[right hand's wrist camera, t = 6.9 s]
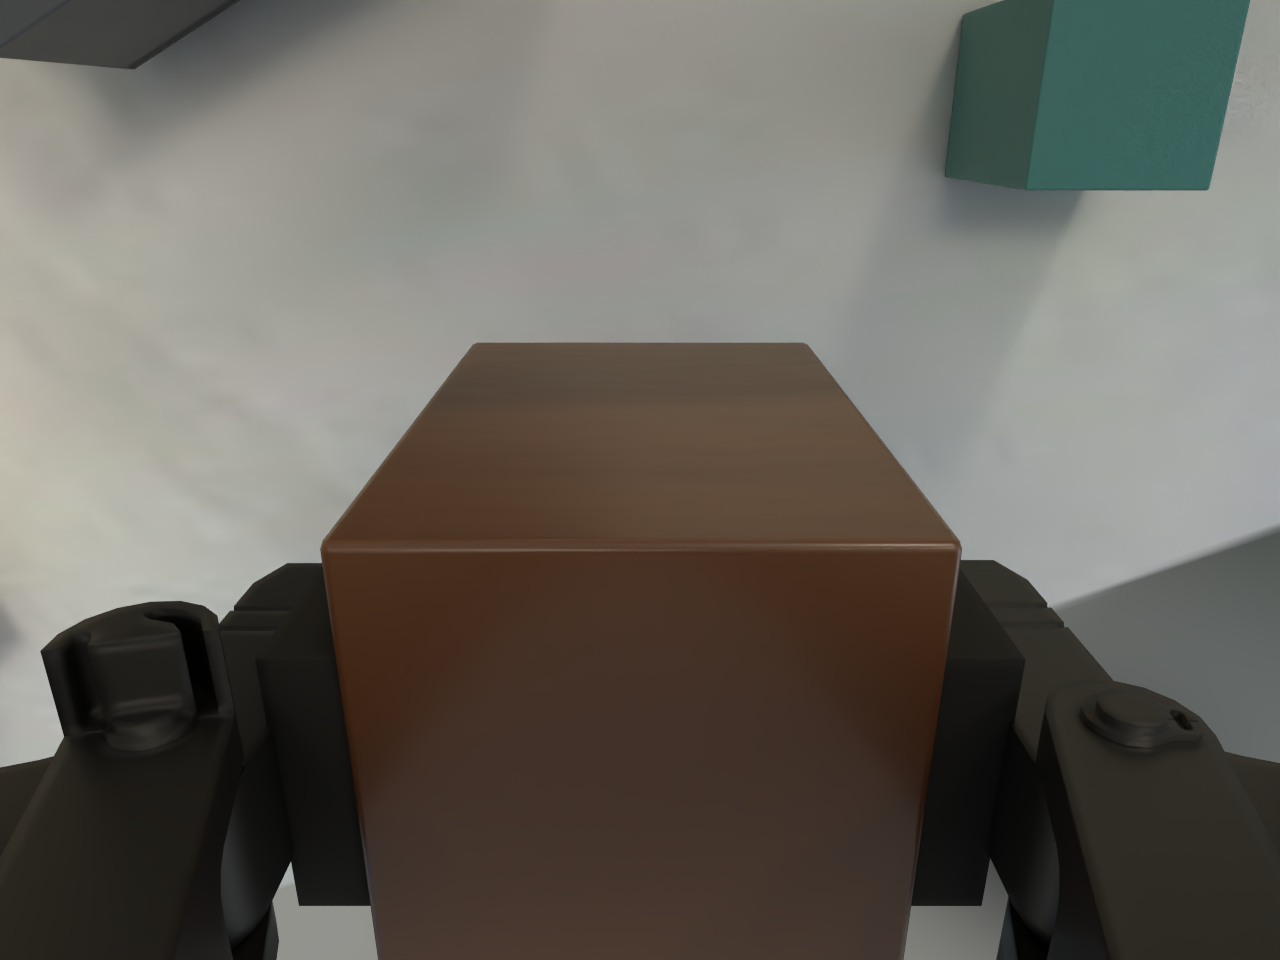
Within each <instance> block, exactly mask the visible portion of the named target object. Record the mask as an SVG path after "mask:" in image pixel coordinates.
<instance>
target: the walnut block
mask: <svg viewBox="0 0 1280 960" xmlns="http://www.w3.org/2000/svg"><path fill="white" fill-rule="evenodd" d="M320 550H321V558H322V565H323V572H324V579H325V586H326V593H327V600H328V607H329V614H330V621H331V628H332V636H333V643H334V650H335V657H336V664H337V671H338V678H339V685H340V692H341V699H342V706H343V714H344V721H345V728H346V735H347V742H348V749H349V756H350V763H351V770H352V777H353V784H354V792H355V799H356V806H357V813H358V820H359V827H360V834H361V841H362V848H363V855H364V862H365V869H366V877H367V884H368V891H369V898H370V905H371V912H372V919H373V926H374V933H375V940H376V947H377V955H378V960H903V959H904V952H905V945H906V937H907V931H908V924H909V917H910V910H911V903H912V896H913V889H914V882H915V875H916V868H917V861H918V854H919V847H920V840H921V833H922V826H923V819H924V812H925V805H926V798H927V791H928V784H929V777H930V770H931V763H932V756H933V749H934V742H935V735H936V728H937V721H938V714H939V707H940V700H941V693H942V686H943V679H944V672H945V665H946V658H947V651H948V644H949V637H950V630H951V623H952V616H953V609H954V602H955V595H956V588H957V581H958V574H959V567H960V560H961V553H962V547H961V544H960V541H959V539H958V538H957V537H956V536H955V534H954V533H953V532H952V530H951V529H950V528H949V526H948V525H947V524H946V523H945V521H944V520H943V519H942V517H941V516H940V515H939V514H938V512H937V511H936V510H935V508H934V507H933V506H932V505H931V503H930V502H929V501H928V499H927V498H926V497H925V496H924V494H923V493H922V492H921V490H920V489H919V488H918V486H917V485H916V484H915V483H914V481H913V480H912V479H911V477H910V476H909V475H908V474H907V472H906V471H905V470H904V468H903V467H902V466H901V465H900V463H899V462H898V461H897V459H896V458H895V457H894V456H893V454H892V453H891V452H890V450H889V449H888V448H887V446H886V445H885V444H884V443H883V441H882V440H881V439H880V437H879V436H878V435H877V434H876V432H875V431H874V430H873V428H872V427H871V426H870V425H869V423H868V422H867V421H866V419H865V418H864V417H863V415H862V414H861V413H860V412H859V410H858V409H857V408H856V406H855V405H854V404H853V403H852V401H851V400H850V399H849V397H848V396H847V395H846V394H845V392H844V391H843V390H842V388H841V387H840V386H839V385H838V383H837V382H836V381H835V379H834V378H833V377H832V375H831V374H830V373H829V372H828V370H827V369H826V368H825V366H824V365H823V364H822V363H821V361H820V360H819V359H818V357H817V356H816V355H815V354H814V352H813V351H812V350H811V348H810V347H809V346H808V345H807V344H805V343H476V344H473V345H472V346H471V348H470V349H469V350H468V352H467V353H466V354H465V356H464V357H463V358H462V359H461V361H460V362H459V363H458V365H457V366H456V367H455V369H454V370H453V371H452V373H451V374H450V375H449V376H448V378H447V379H446V380H445V382H444V383H443V384H442V386H441V387H440V388H439V390H438V391H437V392H436V393H435V395H434V396H433V397H432V399H431V400H430V401H429V403H428V404H427V405H426V407H425V408H424V409H423V410H422V412H421V413H420V414H419V416H418V417H417V418H416V420H415V421H414V422H413V424H412V425H411V426H410V427H409V429H408V430H407V431H406V433H405V434H404V435H403V437H402V438H401V439H400V441H399V442H398V443H397V444H396V446H395V447H394V448H393V450H392V451H391V452H390V454H389V455H388V456H387V458H386V459H385V460H384V461H383V463H382V464H381V465H380V467H379V468H378V469H377V471H376V472H375V473H374V475H373V476H372V477H371V478H370V480H369V481H368V482H367V484H366V485H365V486H364V488H363V489H362V490H361V492H360V493H359V494H358V495H357V497H356V498H355V499H354V501H353V502H352V503H351V505H350V506H349V507H348V509H347V510H346V511H345V512H344V514H343V515H342V516H341V518H340V519H339V520H338V522H337V523H336V524H335V526H334V527H333V528H332V529H331V531H330V532H329V533H328V535H327V536H326V537H325V539H324V540H323V542H322V545H321V548H320Z"/></svg>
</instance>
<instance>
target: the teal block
mask: <svg viewBox="0 0 1280 960" xmlns="http://www.w3.org/2000/svg"><path fill="white" fill-rule="evenodd" d="M1249 3H1250V0H1003V1H1000V2H998V3H995V4H992V5H989V6H986V7H983V8H980V9H977V10H975V11H972V12H969V13H966V14H964V16H963V23H962V32H961V41H960V49H959V58H958V67H957V75H956V84H955V92H954V101H953V110H952V118H951V127H950V136H949V144H948V153H947V162H946V170H945V177H948V178H954V179H961V180H967V181H973V182H979V183H985V184H991V185H997V186H1003V187H1009V188H1015V189H1022V190H1208V189H1209V187H1210V182H1211V178H1212V173H1213V169H1214V164H1215V159H1216V155H1217V150H1218V146H1219V141H1220V136H1221V132H1222V127H1223V123H1224V118H1225V113H1226V109H1227V104H1228V100H1229V95H1230V90H1231V86H1232V81H1233V77H1234V72H1235V67H1236V63H1237V58H1238V54H1239V49H1240V44H1241V40H1242V35H1243V31H1244V26H1245V21H1246V17H1247V12H1248V8H1249Z"/></svg>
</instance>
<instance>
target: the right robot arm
mask: <svg viewBox="0 0 1280 960" xmlns="http://www.w3.org/2000/svg"><path fill="white" fill-rule="evenodd" d="M41 655H42V658H43V662H44V666H45V669H46V673H47V676H48V680H49V684H50V687H51V691H52V694H53V698H54V701H55V705H56V709H57V712H58V716H59V719H60V723H61V727H62V730H63V734H64V738H63V740H62V742H61V744H60V746H59V748H58V750H57V752H56V753H55V755H54V756H53V757H49V758H45V759H41V760H37V761H32V762H27V763H21V764H16V765H11V766H6V767H1V768H0V960H276V958H277V951H278V943H279V938H278V931H277V923H276V917H275V913H274V907H273V902H272V900H273V898H274V896H275V893H276V891H277V889H278V887H279V885H280V883H281V881H282V879H283V877H284V874H285V872H286V870H287V868H288V866H289V864H290V862H291V863H292V869H293V874H294V880H295V885H296V891H297V896H298V902H299V906H371V905H370V898H369V891H368V884H367V877H366V869H365V862H364V855H363V848H362V841H361V834H360V827H359V820H358V813H357V806H356V799H355V792H354V784H353V777H352V770H351V763H350V756H349V749H348V742H347V735H346V728H345V721H344V714H343V706H342V699H341V692H340V685H339V678H338V671H337V664H336V657H335V650H334V643H333V636H332V628H331V621H330V614H329V607H328V600H327V593H326V586H325V579H324V572H323V565H322V563H287V564H285V565H284V566H282V567H280V568H278V569H277V570H275V571H273V572H272V573H270V574H268V575H267V576H265V577H263V578H261V579H260V580H258V581H256V582H255V583H253V584H252V586H251V587H250V588H249V589H248V590H247V592H246V593H245V594H244V595H243V596H242V597H241V599H240V600H239V601H238V602H237V603H236V605H235V606H234V611H230V612H229V613H228V614H227V615H226V616H225V618H224V619H223V620H222V621H221V622H220V623H219V622H218V617H217V615H216V614H214V613H213V612H212V611H210V610H209V609H207V608H206V607H205V606H202V605H197V604H192V603H188V602H183V601H165V602H147V603H142V604H137V605H131V606H126V607H121V608H116V609H114V610H111V611H108V612H105V613H102V614H99V615H96V616H93V617H90V618H88V619H85V620H83V621H81V622H79V623H78V624H76V625H74V626H72V627H70V628H68V629H67V630H65V631H63V632H61V633H59V634H58V635H57V636H56V637H55V638H54V639H53V640H51V641H50V642H49V643H48V644H47V645H46V646H45V647H44V648H43V649H42V650H41ZM990 858H991V860H992V862H993V864H994V866H995V868H996V870H997V873H998V875H999V877H1000V879H1001V881H1002V883H1003V885H1004V887H1005V889H1006V891H1007V893H1008V896H1009V897H1008V902H1007V907H1006V912H1005V917H1004V922H1003V928H1002V933H1001V938H1000V943H999V949H998V954H997V959H996V960H1280V763H1276V762H1271V761H1265V760H1260V759H1255V758H1250V757H1245V756H1240V755H1236V754H1232V753H1228V752H1224V750H1223V748H1222V746H1221V744H1220V742H1219V740H1218V739H1217V737H1216V735H1215V734H1214V733H1213V732H1212V730H1211V729H1210V728H1209V727H1208V726H1207V725H1206V723H1205V722H1204V721H1203V720H1202V719H1201V718H1200V717H1199V716H1198V715H1196V714H1195V713H1193V712H1191V711H1190V710H1188V709H1187V708H1186V707H1184V706H1182V705H1181V704H1179V703H1178V702H1176V701H1175V700H1173V699H1170V698H1168V697H1165V696H1163V695H1160V694H1158V693H1156V692H1153V691H1151V690H1148V689H1146V688H1143V687H1138V686H1134V685H1130V684H1125V683H1121V682H1116V681H1113V680H1112V678H1111V677H1110V676H1109V675H1108V674H1107V673H1106V671H1105V670H1104V669H1103V668H1102V667H1101V666H1100V664H1099V663H1098V662H1097V661H1096V660H1095V659H1094V657H1093V656H1092V655H1091V654H1090V653H1089V651H1088V650H1087V649H1086V648H1085V647H1084V646H1083V644H1082V643H1081V642H1080V641H1079V640H1078V639H1077V637H1076V636H1075V635H1074V634H1073V633H1072V632H1071V630H1070V629H1069V628H1068V627H1064V622H1063V621H1062V620H1061V619H1060V617H1059V616H1058V615H1057V614H1056V613H1055V612H1054V610H1053V609H1052V608H1048V607H1047V602H1046V601H1045V600H1044V599H1043V598H1042V596H1041V595H1040V594H1039V593H1038V592H1037V591H1036V589H1035V588H1034V587H1033V586H1032V585H1031V583H1030V582H1029V581H1028V580H1027V579H1025V578H1023V577H1022V576H1020V575H1018V574H1016V573H1015V572H1013V571H1011V570H1010V569H1008V568H1006V567H1004V566H1003V565H1001V564H999V563H998V562H996V561H994V560H960V567H959V574H958V581H957V588H956V595H955V602H954V609H953V616H952V623H951V630H950V637H949V644H948V651H947V658H946V665H945V672H944V679H943V686H942V693H941V700H940V707H939V714H938V721H937V728H936V735H935V742H934V749H933V756H932V763H931V770H930V777H929V784H928V791H927V798H926V805H925V812H924V819H923V826H922V833H921V840H920V847H919V854H918V861H917V868H916V875H915V882H914V889H913V896H912V903H911V906H981V905H982V900H983V894H984V889H985V883H986V878H987V872H988V866H989V861H990Z"/></svg>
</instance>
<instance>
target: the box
mask: <svg viewBox="0 0 1280 960" xmlns="http://www.w3.org/2000/svg"><path fill="white" fill-rule="evenodd" d="M238 1H239V0H0V58H10V59H21V60H33V61H44V62H56V63H67V64H78V65H90V66H101V67H113V68H124V69H136V68H137V67H139V66H140V65H142V64H143V63H145V62H146V61H148V60H149V59H151V58H152V57H154V56H155V55H157V54H158V53H160V52H161V51H163V50H165V49H166V48H168V47H169V46H171V45H172V44H174V43H175V42H177V41H178V40H180V39H181V38H183V37H184V36H186V35H187V34H189V33H190V32H192V31H193V30H195V29H197V28H198V27H200V26H201V25H203V24H204V23H206V22H207V21H209V20H210V19H212V18H213V17H215V16H216V15H218V14H219V13H221V12H222V11H224V10H225V9H227V8H229V7H230V6H232V5H233V4H235V3H236V2H238Z"/></svg>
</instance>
